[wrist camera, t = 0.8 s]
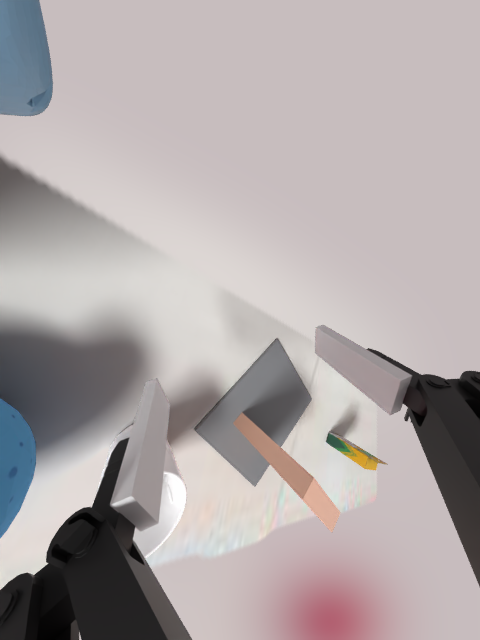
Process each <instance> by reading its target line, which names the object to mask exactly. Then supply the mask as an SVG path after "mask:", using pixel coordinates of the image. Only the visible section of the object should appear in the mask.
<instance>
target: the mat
mask: <svg viewBox="0 0 480 640" xmlns="http://www.w3.org/2000/svg"><path fill="white" fill-rule="evenodd" d="M311 400H312V399H311V397H310V395H309V393H308V392H307V390H306V388H305V386H304V385H303V383H302V381H301V379H300V378H299V376H298V374H297V372H296V371H295V369H294V367H293V365H292V364H291V362H290V360H289V358H288V357H287V355H286V353H285V351H284V350H283V348H282V346H281V344H280V343H279V341H278V339H275V341H274V342H273V343H272V344H271V345H270V346H269V347H268V348H267V349H266V350H265V352H264V353H263V354H262V355H261V356H260V357H259V358H258V359H257V360H256V361H255V363H254V364H253V365H252V366H251V367H250V368H249V369H248V370H247V371H246V372H245V374H244V375H243V376H242V377H241V378H240V379H239V380H238V381H237V382H236V383H235V385H234V386H233V387H232V388H231V389H230V390H229V391H228V392H227V393H226V394H225V396H224V397H223V398H222V399H221V400H220V401H219V402H218V403H217V404H216V405H215V407H214V408H213V409H212V410H211V411H210V412H209V413H208V414H207V415H206V416H205V418H204V419H203V420H202V421H201V422H200V423H199V424H198V425H197V426H196V427H195V431H196V432H197V433H198V434H199V435H200V436H201V437H202V438H204V439H205V440H206V441H207V442H208V443H209V444H210V445H211V446H212V447H213V448H214V449H215V450H216V451H217V452H218V453H219V454H221V455H222V456H223V457H224V458H225V459H226V460H227V461H228V462H229V463H230V464H231V465H232V466H233V467H234V468H235V469H237V470H238V471H239V472H240V473H241V474H242V475H243V476H244V477H245V478H246V479H247V480H248V481H249V482H250V483H251V484H252V485H254V486H256V485H257V483H258V482H259V480H260V479H261V477H262V475H263V474H264V472H265V471H266V469H267V468H268V466H269V465H270V464H269V463H268V462H267V461H266V459H265V458H264V457H263V456H262V455H261V454H260V453H259V452H258V451H257V450H256V448H255V447H254V446H253V445H252V444H251V443H250V442H249V441H248V440H247V438H246V437H245V436H244V435H243V434H242V433H241V432H240V431H239V430H238V428H237V427H236V426H235V425H234V424H233V423H234V421H235V420H236V419H237V418H238V416H239V415H240V414H241V413H243V414H244V415H245V416H247V417H248V418H249V419H250V420H251V421H252V422H253V423H254V424H255V425H256V426H258V427H259V428H260V429H261V430H262V431H263V432H264V433H265V434H266V435H267V436H269V437H270V438H271V439H272V440H273V441H274V442H275V443H276V444H277V445H278V446H279V447H281V446H282V445H283V443H284V441H285V440H286V438H287V437H288V435H289V434H290V432H291V431H292V429H293V428H294V426H295V425H296V423H297V421H298V420H299V418H300V417H301V415H302V414H303V412H304V411H305V409H306V408H307V406H308V404H309V403H310V401H311Z"/></svg>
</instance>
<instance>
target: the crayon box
mask: <svg viewBox="0 0 480 640" xmlns="http://www.w3.org/2000/svg"><path fill="white" fill-rule="evenodd" d="M326 442H327V443H328V444H329V445H331V446H332V447H334V448H335V449H337V450H338V451H340V452H341V453H343V454H344V455H346V456H347V457H348V458H350V459H351V460H353V461H354V462H356V463H357V464H359V465H360V466H361V467H363V468H364V469H369V470H376V468H377V464H378V463H382V464H386V463H385V462H383V461H381V460H380V459H378V458H376V457H374V456H373V455H371V454H369V453H368V452H366V451H365V450H363V449H361V448H360V447H358V446H356V445H355V444H353V443H351V442H350V441H348V440H347V439H345V438H343V437H342V436H340V435H336V434H334V433H330V432H329V434H328V437H327V440H326ZM378 460H379V461H380V462H379V461H378Z"/></svg>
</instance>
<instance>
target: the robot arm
mask: <svg viewBox="0 0 480 640" xmlns="http://www.w3.org/2000/svg"><path fill="white" fill-rule="evenodd" d="M52 86H53V81H52V68H51V60H50V53H49V47H48V42H47V37H46V31H45V25H44V21H43V16H42V12H41V7H40V2H39V0H0V114H4V115H17V116H33V115H37V114H40V113H42V112H43V111H44V110H45V109H46V108H47V107H48V105H49V103H50V100H51V97H52V88H53V87H52ZM315 353H316V354H317V355H318V356H319V357H320V358H322V359H323V360H324V361H325V362H326V363H328V364H329V365H330V366H331V367H332V368H334V369H335V370H336V371H337V372H338V373H340V374H341V375H342V376H343V377H344V378H346V379H347V380H348V381H349V382H351V383H352V384H353V385H354V386H355V387H357V388H358V389H359V390H360V391H361V392H363V393H364V394H365V395H366V396H367V397H369V398H370V399H371V400H372V401H373V402H375V403H376V404H377V405H378V406H380V407H381V408H382V409H383V410H384V411H386V412H387V413H388V414H389V415H392V414H394V413H396V412H398V411H400V410H401V407H402V404H405V405H406V406H407V407H408V409H407V412H406V415H405V417H404V419H405V421H408V418H409V416H410V419H411V422H412V423H413V426H414V428H415V431H416V433H417V436H418V438H419V440H420V443H421V445H422V447H423V450H424V453H425V455H426V457H427V460H428V462H429V464H430V467H431V469H432V472H433V474H434V477H435V479H436V482H437V484H438V487H439V489H440V491H441V494H442V496H443V499H444V501H445V504H446V506H447V508H448V511H449V513H450V516H451V518H452V521H453V523H454V525H455V528H456V530H457V533H458V535H459V537H460V540H461V542H462V545H463V547H464V549H465V552H466V554H467V557H468V559H469V562H470V564H471V567H472V569H473V571H474V574H475V576H476V579H477V581H478V583H479V586H480V372H476V371H465V372H464V373H462V375H461V377H460V379H447V380H446V379H444V378H441V377H438V376H435V375H429V374H425V375H421V374H419V373H417V372H415V371H413V370H411V369H410V368H408V367H406V366H404V365H402V364H400V363H399V362H396V361H395V360H393V359H391V358H389V357H386V355H384V354H382V353H380V352H378V351H376V350H372V349H369V348H368V349H365V348H363V347H361V346H360V345H358V344H356V343H354V342H353V341H351V340H349V339H347V338H346V337H344V336H342V335H340V334H339V333H336V332H335V331H333V330H332V329H330V328H328V327H326V326H325V325H321V326H318V327H316V336H315ZM169 413H170V403H169V401H168V399H167V397H166V395H165V393H164V391H163V389H162V387H161V385H160V383H159V381H158V379H157V378H156V379H153V380H150V381H147V382H146V383H145V387H144V390H143V394H142V397H141V400H140V404H139V407H138V411H137V414H136V417H135V421H134V424H133V427H132V431H131V434H130V437H129V438H126V439H124V440H121V441H119V442H118V444H117V445H116V447H115V448H114V450H113V451H112V453H111V456H110V459H109V461H108V466H107V467H106V470H105V473H104V477H103V478H102V481H101V484H100V486H99V489H98V492H97V495H96V498H95V500H94V503H93V506H92V508H91V507H86V508H82V509H80V510H79V511H77V512H75V513H74V514H73V515H72V516H71V517H69V518H68V519H67V520H66V521H65V522H64V524H63V525H62V526H61V527H60V528H59V530H58V531H57V533H56V534H55V536H54V538H53V539H52V541H51V543H50V546H49V548H48V551H47V558H46V562H47V563H49V564H47V565H46V566H45V567H44V568H42V569H41V570H40V571H39V572H37V573H36V574H35V575H32V574H30V573H24V574H21V575H18V576H17V577H15V578H14V579H13V580H11V581H10V582H8V583H7V584H6V585H5V586H4V587H3V588H2V589H1V590H0V640H79V632H80V635H81V639H82V640H192V638H191V637H190V635H189V633H188V632H187V630H186V628H185V626H184V625H183V623H182V621H181V620H180V618H179V616H178V615H177V613H176V611H175V609H174V608H173V606H172V604H171V603H170V601H169V599H168V597H167V596H166V594H165V592H164V591H163V589H162V587H161V585H160V584H159V582H158V580H157V579H156V577H155V575H154V574H153V572H152V570H151V568H150V567H149V565H148V563H147V561H146V560H145V558H144V556H143V555H142V553H141V551H140V549H139V548H138V546H137V544H136V543H135V541H133V537H134V531H135V527H136V528H137V529H138V530H139V531H140V532H142V531H144V530H146V529H148V528H150V527H152V526H154V525H157V524H159V514H160V504H161V494H162V484H163V474H164V463H165V453H166V443H167V433H168V423H169Z"/></svg>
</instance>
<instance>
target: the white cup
mask: <svg viewBox="0 0 480 640" xmlns="http://www.w3.org/2000/svg"><path fill="white" fill-rule="evenodd" d="M132 427H133V425H131V426H129V427H128V428H126V429H125V430H124V431H122V432H121V433H120V434H118V435H117V437H116V438H115V440H114V441H113V443H112V444H111V446H110V448H109V452H108V457H107V460H106V463H105V466H104V468H103V472H102V475H101V479H100V483H99V486H100V484H101V481H102V478H103V477H104V473H105V470H106V467H107V466H108V461H109V459H110V456H111V453H112V451H113V450H114V448H115V447H116V445H117V444H118V442H119V441H121V440H124V439H126V438H129V437H130V434H131V431H132ZM99 486H98V489H99ZM97 492H98V490H97ZM96 495H97V494H96ZM186 500H187V489H186V485H185V482H184V480H183V477H182V475H181V472H180V470H179V467H178V464H177V462H176V459H175V456H174V454H173V452H172V449H171V446H170V444H169V442H168V441H167V443H166V453H165V463H164V474H163V484H162V494H161V504H160V514H159V524H157V525H154V526H152V527H150V528H148V529H146V530H144V531H142V532H140V531H139V530H138V529H137V528H136V527H135V531H134V537H133V541H135V543H136V544H137V546H138V548H139V549H140V551H141V553H142V555H143V556H144V558H146V557H148V556H149V555H151V554H152V553H153V552H154V551H155V550H156V549H158V548H159V547H160V546H161V545H162V544H163V543H164V542H165V540H166V539H167V538H168V537H169V536H170V534H171V533H172V532H173V530H174V529H175V527H176V526H177V524H178V522H179V520H180V518H181V516H182V514H183V511H184V509H185V505H186Z"/></svg>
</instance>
